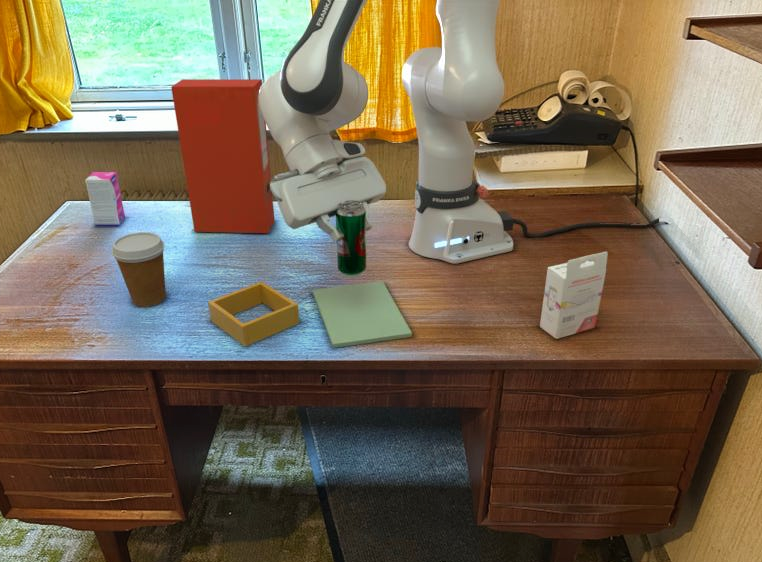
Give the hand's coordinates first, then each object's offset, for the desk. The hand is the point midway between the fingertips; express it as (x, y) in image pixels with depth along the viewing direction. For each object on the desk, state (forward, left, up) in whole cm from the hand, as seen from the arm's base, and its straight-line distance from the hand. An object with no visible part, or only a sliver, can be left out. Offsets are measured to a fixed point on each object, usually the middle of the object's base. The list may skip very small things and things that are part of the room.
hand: (354, 234), depth 114 cm
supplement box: (+47, -58, -16) cm, 77 cm away
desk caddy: (+18, -2, -16) cm, 24 cm away
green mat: (-1, 0, -16) cm, 16 cm away
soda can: (0, 0, -7) cm, 7 cm away
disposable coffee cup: (+37, -16, -16) cm, 44 cm away
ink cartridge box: (-35, +13, -16) cm, 41 cm away
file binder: (+18, -47, -16) cm, 53 cm away
